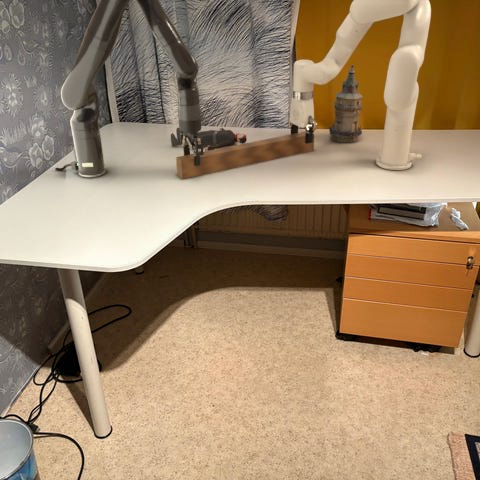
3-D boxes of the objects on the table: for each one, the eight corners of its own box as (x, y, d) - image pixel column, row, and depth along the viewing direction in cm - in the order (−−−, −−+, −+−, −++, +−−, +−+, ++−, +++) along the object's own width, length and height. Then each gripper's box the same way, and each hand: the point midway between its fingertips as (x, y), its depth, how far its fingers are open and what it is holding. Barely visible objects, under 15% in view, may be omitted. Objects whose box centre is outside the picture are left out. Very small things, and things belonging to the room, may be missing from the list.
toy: (183, 121, 228) (252, 121, 222) (184, 135, 231) (252, 135, 225) (163, 141, 206) (239, 141, 200) (165, 156, 209) (240, 157, 203)
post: (306, 147, 213) (307, 130, 210) (313, 150, 210) (314, 134, 207) (177, 174, 190) (176, 157, 187) (182, 179, 187) (181, 161, 183)
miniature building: (330, 144, 216) (335, 67, 201) (326, 133, 228) (331, 60, 213) (363, 144, 215) (371, 67, 200) (358, 133, 227) (365, 60, 212)
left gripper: (171, 113, 184) (174, 157, 192) (188, 123, 173) (191, 170, 181) (190, 109, 187) (193, 153, 195) (209, 120, 176) (210, 166, 184)
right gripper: (281, 91, 204) (281, 135, 213) (308, 101, 191) (306, 147, 199) (298, 89, 207) (296, 131, 216) (325, 98, 194) (322, 143, 202)
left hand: (192, 161), depth 188 cm, fingers open, 8 cm apart
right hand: (301, 139), depth 207 cm, fingers open, 9 cm apart
